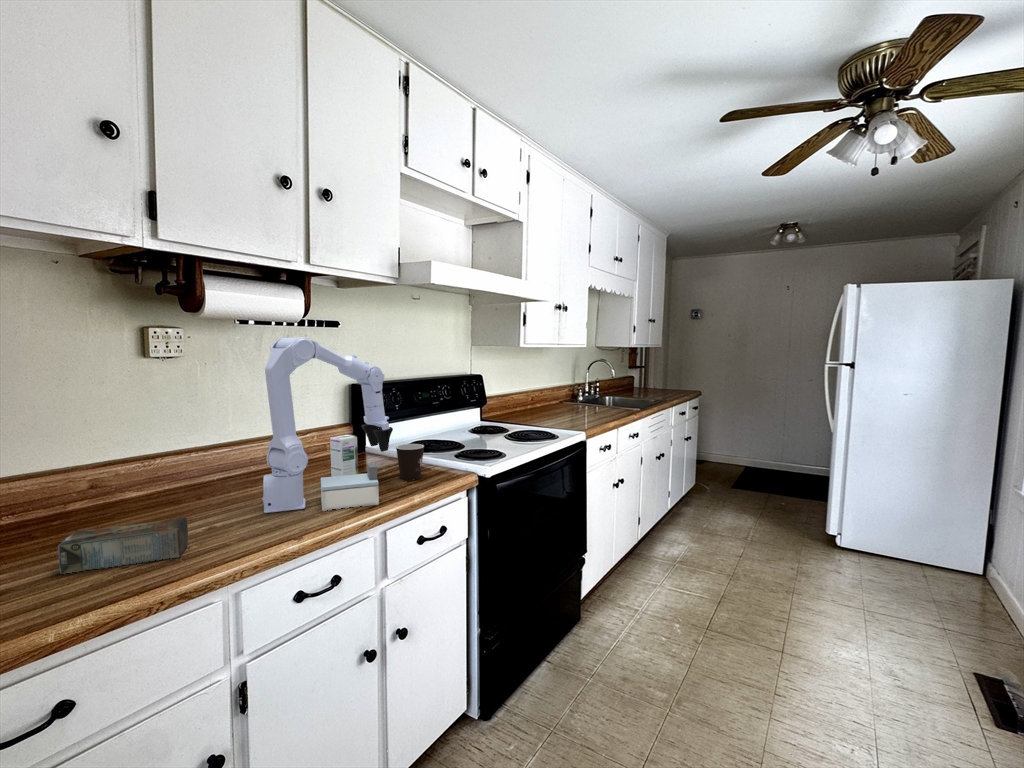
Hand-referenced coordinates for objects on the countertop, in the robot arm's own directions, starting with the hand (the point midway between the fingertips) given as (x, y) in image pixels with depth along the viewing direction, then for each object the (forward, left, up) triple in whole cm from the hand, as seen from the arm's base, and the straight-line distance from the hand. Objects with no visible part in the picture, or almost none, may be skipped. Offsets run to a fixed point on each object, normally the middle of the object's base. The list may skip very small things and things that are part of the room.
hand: (379, 448), depth 151 cm
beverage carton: (-53, -38, -11) cm, 66 cm away
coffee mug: (+11, +1, -11) cm, 15 cm away
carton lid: (-10, -18, -5) cm, 21 cm away
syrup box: (-10, +1, -11) cm, 15 cm away
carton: (-10, -18, -10) cm, 23 cm away
